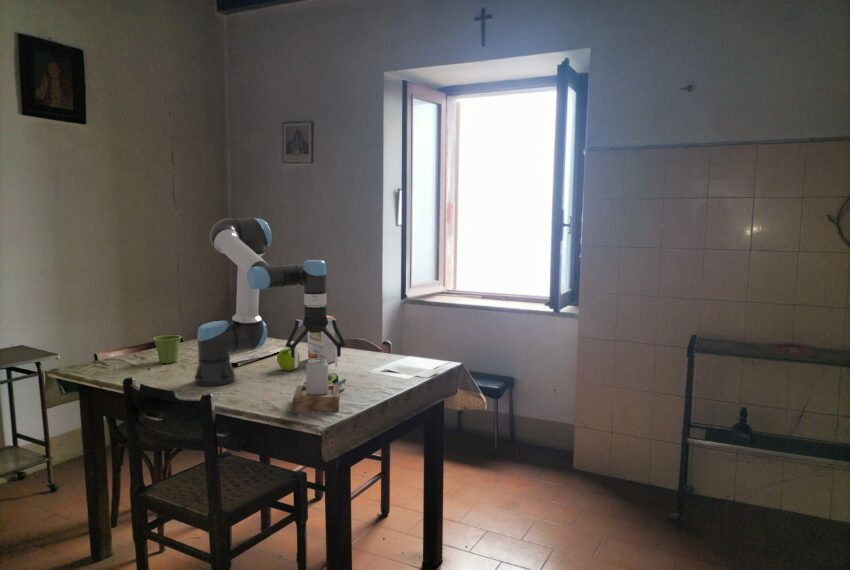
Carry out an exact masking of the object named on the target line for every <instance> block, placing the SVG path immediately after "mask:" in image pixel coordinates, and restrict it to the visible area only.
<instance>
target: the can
mask: <svg viewBox="0 0 850 570" xmlns="http://www.w3.org/2000/svg"><path fill="white" fill-rule="evenodd" d="M328 373H329V363H327V362H326V359H322V358H314V359H308V360H307V363H306V364H305V378H306V379H305V381H306V390H307V393H308V394H309V395H311V396H320V395H325V394H326V393H327V392H328Z"/></svg>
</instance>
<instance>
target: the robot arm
mask: <svg viewBox="0 0 850 570" xmlns="http://www.w3.org/2000/svg"><path fill="white" fill-rule="evenodd" d="M272 238H273V237H272V231H271V228H270V226H269V224H268V222H266V221H265V219H262V218H258V217H257V218H256V217H246V218H245V217H244V218H243V217H240V218H239V217H238V218H231V217H230V218H229V217H227V218H224V219H223V218H222V219H220V220H219V221H216V223H215V224H214V225H213V226H212V227H211V230H210V232H209V241H210V243H211V246H212V247H213V248H214V250H216V251H217V252H218V253H220V254H225V256H226V257H228V258H229V259H230V261H232V263H234V264H235V265H236V266H237V279H236V281H237V282H236V284H237V285H236V306H235V307H236V313H235V314H234V315H233V316H232V317H231V323H229V321H228V320H218V321H217V320H216V321H210V322H206V323H203V324H201V325H200V326H199V327H198V329H197V337H196V339H197V352H198V354H197V355H198V366H197V368H196V373H195V374H194V384H195V385H197V386H201V387H216V386H218V387H219V386H224V385H228V384H230V383H233V382H235V381H236V373H235V371H234V368H233V366H232V365H233V364H231V363H230V359H231V354H233V353H238V352H246V351H254V350H253V349H255V350H257V349H261V348H262V347H263V346H264V344H265V343H266V341H267V337H268V328H267V325H266V323H265V321H264V320H263V319H262V316H261V315H259V305H260V304H259V303H260V301H259V299H260V290H266V289H277V288H278V289H279V288H285V287H286V288H287V287H289V288H290V287H303V305H304V308H303V309H304V310H303V313H304V314H303V317H304V319H299V318H296V319H295V321H294V327H293V329H292V330H291V333H290V335H289V337H288V339H287V341H286V343H285V347H286V348H289V349H290V348H291V357H292V358H295V368H294V369H296V368H298V365H299V363H298V353H299V352H298V344H300V342H301V341H302V340H303V338H305V336H306V335H308V332H311V333H315V332H317V333H320V332H322V331H323V332H324V333H325V334H326V335H327V336H328V338H329V339H330V340H331V341H332V342H333V343H334V344H335V362H334V367H335V368H337V367H338V358H339V357H341V356H342V353H341V352H342V350H341V349H342V347H346V344H347V343H346V342H347V341H346V340H345V338H344V337H343V334H342V333H341V330H340V329H339V327H338V325H337V319H336V318H334V319H333V320H327V315H328V312H327V311H328V309H327V306H326V305H327V273H328V272H327V267H326V266H327V265H326V261H325V260H322V259H306V260H304V261H303V264H301V263H290V264H281V265H280V264H279V265H270V264H269V263H268V262H267V261H265V260H264V259H263V258H262V257H263V256H264V255H265V253H266V249H267V248H269V247H270V246H271V244H272ZM328 323H329V324H330V325H331V326H333V328H334V330H335V334H336V336H337V338H338V339H337V338H336V336H335V337H334V336H333V335H332V334H331V333H330V332H329V331H328V329H327V328H326V326H327V324H328ZM302 325H303V326H304V327H305V328H304V329H303V331H302V332H301V333H300V335H298V337H297V338H295V339H296V340H294V342H292V341H293V339H294V336H295V335H296V333H297V331H298V329H299V327H301V326H302ZM338 340H339V341H338Z"/></svg>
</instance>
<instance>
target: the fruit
mask: <svg viewBox="0 0 850 570" xmlns="http://www.w3.org/2000/svg"><path fill="white" fill-rule="evenodd" d="M276 361H277V364H278V366H279V367H280V368H281V369H282V370H283V371H286V370H288V371H293V370H294V369H296V368H295V358H292V357H291V348H289V347H287V348H284V350H281V351H280V352H279V353H277V356H276ZM299 363H300V353H299V352H298V364H299Z"/></svg>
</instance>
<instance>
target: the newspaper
mask: <svg viewBox="0 0 850 570" xmlns="http://www.w3.org/2000/svg"><path fill="white" fill-rule="evenodd" d="M284 349H285V348H284V347H280V346H275V345H274V346H273V345H272V346H271V345H270V346H266V347H263V348H262V347H261V348H258V349H255V350H252V351H251V352H247V353H244V354H241V355H238V356H236V357H230V362H231V363H234V364H237V366H239V367H240V365H241V366H244V365H246V363H247V364H249V362H250V363H253V362H255V361H258V360H261V359H264V358H266V356H267V357H269V355H270V356H273V355H275V354H274V353H276V354H278V353H277V352H280V351H281V350H284ZM272 354H273V355H272ZM243 364H244V365H243Z"/></svg>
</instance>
